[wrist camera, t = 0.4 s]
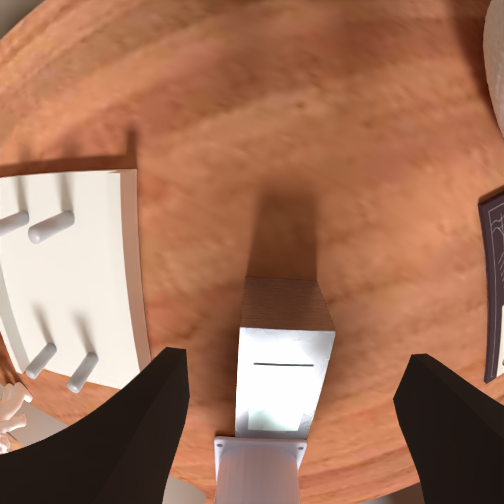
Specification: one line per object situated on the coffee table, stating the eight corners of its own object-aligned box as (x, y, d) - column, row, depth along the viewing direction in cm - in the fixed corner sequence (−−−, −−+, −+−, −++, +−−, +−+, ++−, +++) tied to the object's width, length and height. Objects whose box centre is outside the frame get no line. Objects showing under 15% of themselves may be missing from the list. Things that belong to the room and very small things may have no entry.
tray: (155, 388, 21) (140, 428, 17) (28, 357, 21) (4, 385, 17) (137, 168, 16) (101, 177, 12) (-9, 178, 16) (-49, 189, 12)
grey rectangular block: (298, 380, 21) (306, 440, 16) (239, 377, 21) (234, 438, 16) (316, 279, 18) (336, 332, 13) (245, 275, 18) (239, 328, 13)
